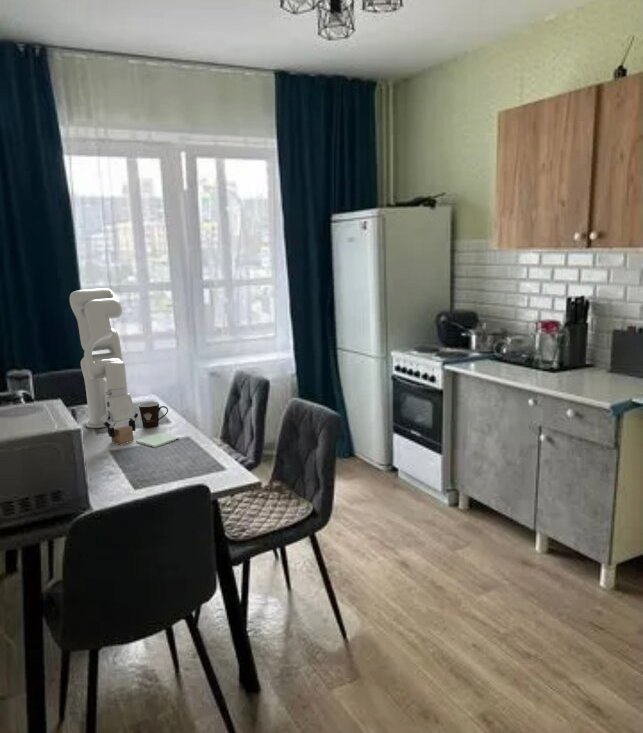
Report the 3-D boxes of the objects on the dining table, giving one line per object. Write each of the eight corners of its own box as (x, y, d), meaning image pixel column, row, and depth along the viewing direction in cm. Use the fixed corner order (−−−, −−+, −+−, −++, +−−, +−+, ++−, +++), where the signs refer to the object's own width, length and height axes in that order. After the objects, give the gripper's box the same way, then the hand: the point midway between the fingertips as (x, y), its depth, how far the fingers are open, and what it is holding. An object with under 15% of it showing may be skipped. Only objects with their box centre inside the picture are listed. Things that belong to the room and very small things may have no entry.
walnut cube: (111, 442, 239) (110, 428, 238) (124, 438, 244) (123, 424, 243) (120, 445, 236) (119, 430, 234) (133, 440, 240) (132, 426, 239)
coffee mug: (136, 428, 257) (134, 406, 255) (149, 422, 265) (147, 401, 263) (158, 430, 253) (156, 407, 251) (170, 424, 261) (168, 402, 259)
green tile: (136, 442, 238) (135, 440, 238) (160, 434, 247) (160, 432, 247) (155, 447, 231) (155, 445, 230) (179, 439, 240) (179, 437, 240)
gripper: (104, 397, 226) (109, 440, 229) (141, 388, 240) (146, 429, 243) (92, 395, 231) (97, 438, 234) (130, 387, 244) (134, 427, 247)
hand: (122, 433), depth 238 cm, fingers open, 9 cm apart
